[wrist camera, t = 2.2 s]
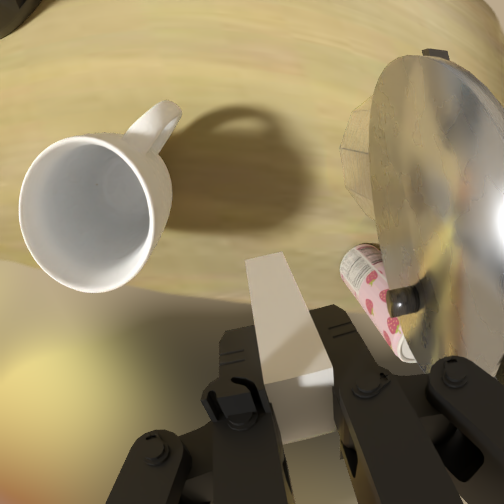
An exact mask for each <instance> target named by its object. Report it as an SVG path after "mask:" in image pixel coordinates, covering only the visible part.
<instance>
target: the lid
mask: <svg viewBox="0 0 504 504" xmlns="http://www.w3.org/2000/svg"><path fill="white" fill-rule="evenodd" d="M368 152H369V164H370V178H371V189H372V198H373V206H374V213H375V221H376V227H377V233H378V239H379V245H380V250H381V255H382V260H383V265H384V269H385V274H386V278H387V282H388V286H389V290H388V291H387V293H386V304H387V309H388V313H389V315H390V317H391V318H394V317H397V318H398V321H399V324H400V326H401V329H402V332H403V334H404V337H405V339H406V341H407V344H408V346H409V348H410V350H411V352H412V354H413V356H414V358H415V360H416V361H417V363H418V364H419V366H420V367H421V369H422V370H423V371H424V373H425V374H428V373H430V370H431V367H432V366H433V365H434V364H435V363H436V361H438V360H440V359H442V358H444V357H448V356H460V357H465V358H467V359H469V360H471V361H472V362H474V363H475V364H476V365H478V366H479V367H480V368H482V369H483V370H484V371H486V372H487V373H488V374H490V375H491V376H492V377H494V376H496V378H497V380H498V381H499V382H500V383H501V384H503V385H504V108H503V107H502V105H501V104H500V103H499V101H498V100H497V99H496V98H495V96H494V95H493V94H492V93H491V92H490V90H489V89H488V88H487V87H486V86H485V85H484V84H483V83H482V82H480V81H479V80H478V79H477V78H476V77H475V76H474V75H473V74H471V73H470V72H469V71H467V70H466V69H464V68H462V67H461V66H459V65H457V64H456V63H454V62H452V61H449V60H446V59H443V58H440V57H433V56H417V55H406V56H402V57H398V58H397V59H395V60H393V61H392V62H390V63H389V64H388V65H387V67H386V68H385V69H384V70H383V72H382V73H381V75H380V77H379V79H378V82H377V84H376V87H375V90H374V94H373V98H372V104H371V111H370V121H369V148H368Z"/></svg>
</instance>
